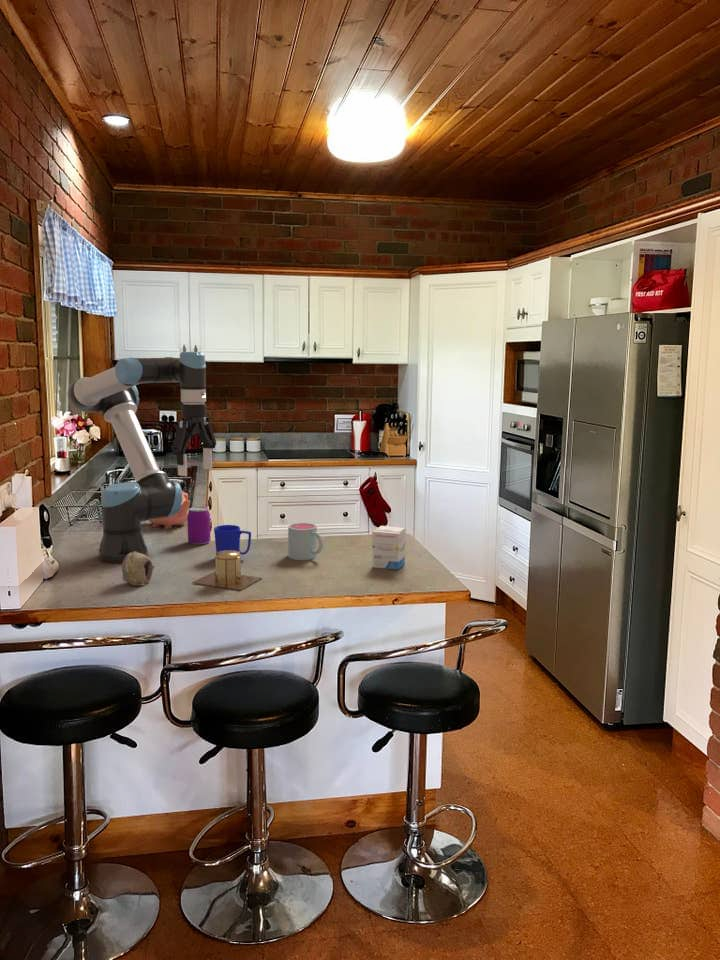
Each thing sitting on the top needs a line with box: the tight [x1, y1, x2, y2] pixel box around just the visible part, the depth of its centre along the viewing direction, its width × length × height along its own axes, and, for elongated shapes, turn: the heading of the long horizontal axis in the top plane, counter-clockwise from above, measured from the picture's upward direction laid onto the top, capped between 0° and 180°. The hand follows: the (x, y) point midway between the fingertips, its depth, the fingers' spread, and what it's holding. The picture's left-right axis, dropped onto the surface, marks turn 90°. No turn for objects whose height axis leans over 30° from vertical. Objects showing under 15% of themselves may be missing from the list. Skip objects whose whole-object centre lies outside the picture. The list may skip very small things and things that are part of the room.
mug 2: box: [287, 522, 324, 561], centre depth 247 cm, size 14×9×10 cm
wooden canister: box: [213, 550, 243, 584], centre depth 222 cm, size 7×9×8 cm
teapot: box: [148, 492, 191, 530], centre depth 287 cm, size 16×17×14 cm
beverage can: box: [186, 506, 211, 546], centre depth 264 cm, size 8×8×12 cm
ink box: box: [371, 525, 406, 571], centre depth 240 cm, size 9×8×12 cm
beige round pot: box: [121, 551, 155, 586], centre depth 220 cm, size 9×8×10 cm
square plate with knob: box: [192, 570, 263, 592], centre depth 222 cm, size 16×12×6 cm
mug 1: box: [213, 524, 252, 555], centre depth 245 cm, size 8×12×10 cm
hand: (195, 472), depth 237 cm, fingers open, 13 cm apart
